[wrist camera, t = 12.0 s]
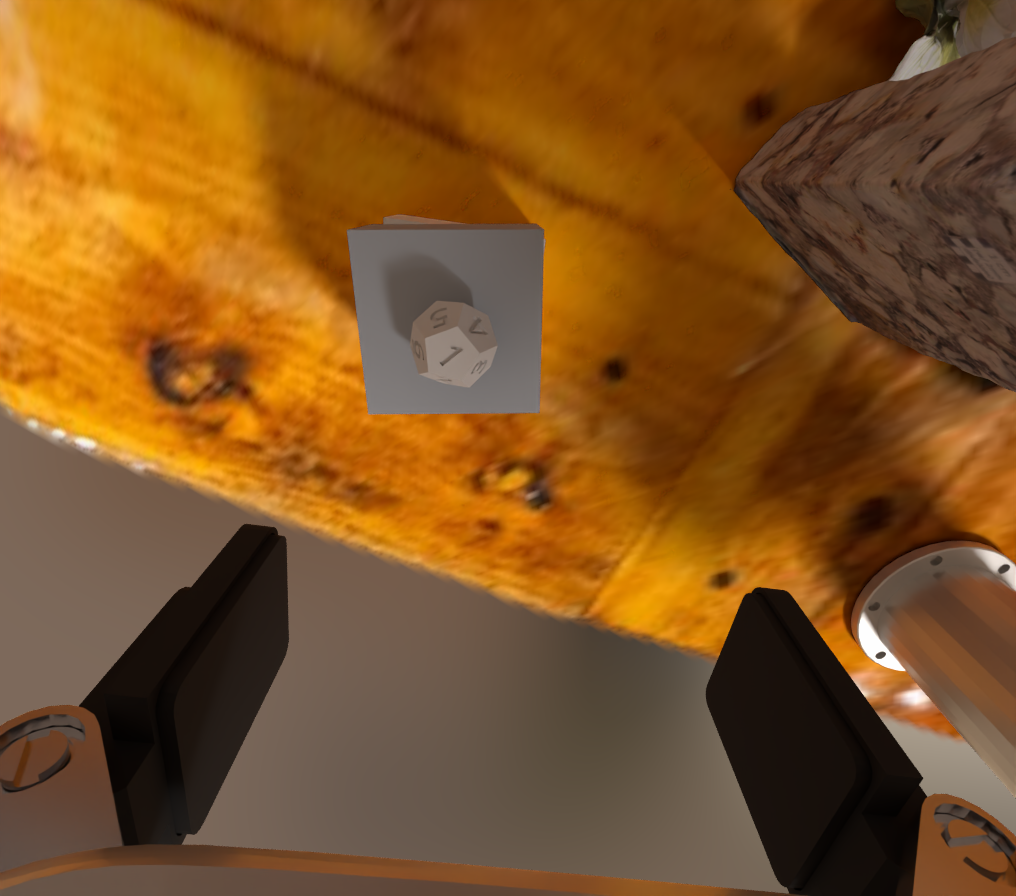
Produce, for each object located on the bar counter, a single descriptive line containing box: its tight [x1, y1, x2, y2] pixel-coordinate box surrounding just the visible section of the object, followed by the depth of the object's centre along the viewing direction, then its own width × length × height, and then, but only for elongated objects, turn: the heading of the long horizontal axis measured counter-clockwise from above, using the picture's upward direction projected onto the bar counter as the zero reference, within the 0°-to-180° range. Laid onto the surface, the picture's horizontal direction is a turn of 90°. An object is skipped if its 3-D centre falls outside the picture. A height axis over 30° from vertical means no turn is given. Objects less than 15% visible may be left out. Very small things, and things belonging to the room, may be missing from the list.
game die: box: [410, 301, 498, 388], centre depth 22 cm, size 4×4×3 cm
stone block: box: [730, 37, 1016, 392], centre depth 22 cm, size 13×7×20 cm, turn 54°
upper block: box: [347, 224, 544, 414], centre depth 26 cm, size 8×8×5 cm
